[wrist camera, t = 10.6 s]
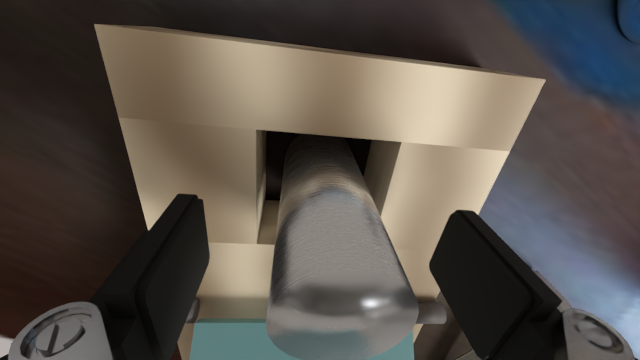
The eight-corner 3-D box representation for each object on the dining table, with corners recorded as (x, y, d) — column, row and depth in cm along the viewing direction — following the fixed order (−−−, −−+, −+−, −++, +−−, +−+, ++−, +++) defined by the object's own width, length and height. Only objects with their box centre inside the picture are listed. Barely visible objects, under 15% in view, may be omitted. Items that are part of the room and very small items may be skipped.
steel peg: (357, 131, 15) (440, 271, 6) (346, 191, 17) (396, 362, 8) (286, 125, 14) (266, 267, 6) (283, 187, 16) (264, 365, 8)
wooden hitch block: (485, 68, 14) (579, 85, 9) (386, 323, 24) (406, 390, 20) (150, 26, 12) (55, 21, 7) (201, 323, 22) (176, 397, 18)
